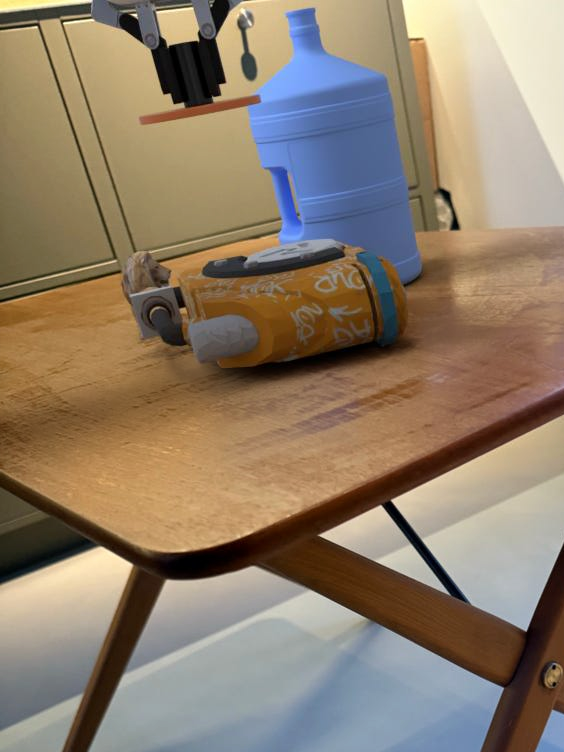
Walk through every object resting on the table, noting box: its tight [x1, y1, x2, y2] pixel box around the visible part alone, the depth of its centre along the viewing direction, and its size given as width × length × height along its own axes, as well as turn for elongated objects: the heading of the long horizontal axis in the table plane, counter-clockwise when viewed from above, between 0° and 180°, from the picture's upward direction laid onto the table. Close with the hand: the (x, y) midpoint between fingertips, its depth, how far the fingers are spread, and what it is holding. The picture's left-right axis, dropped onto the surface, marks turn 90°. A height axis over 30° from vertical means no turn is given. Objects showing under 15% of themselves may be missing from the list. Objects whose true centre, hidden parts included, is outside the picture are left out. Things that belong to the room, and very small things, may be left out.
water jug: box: [246, 6, 423, 286], centre depth 115 cm, size 16×16×28 cm
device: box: [130, 239, 409, 369], centre depth 100 cm, size 23×8×30 cm
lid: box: [138, 40, 261, 126], centre depth 84 cm, size 10×10×5 cm
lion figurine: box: [120, 250, 172, 340], centre depth 117 cm, size 15×5×9 cm, turn 24°
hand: (197, 97), depth 85 cm, fingers closed on lid, 2 cm apart
